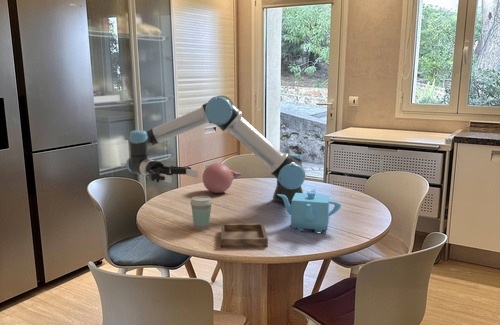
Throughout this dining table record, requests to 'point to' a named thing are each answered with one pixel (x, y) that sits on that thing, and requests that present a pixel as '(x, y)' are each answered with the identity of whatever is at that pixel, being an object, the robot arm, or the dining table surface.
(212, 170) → the pink balloon
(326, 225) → the teakettle
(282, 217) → the dining table surface
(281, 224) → the dining table surface
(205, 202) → the coffee cup
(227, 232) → the wooden tray
